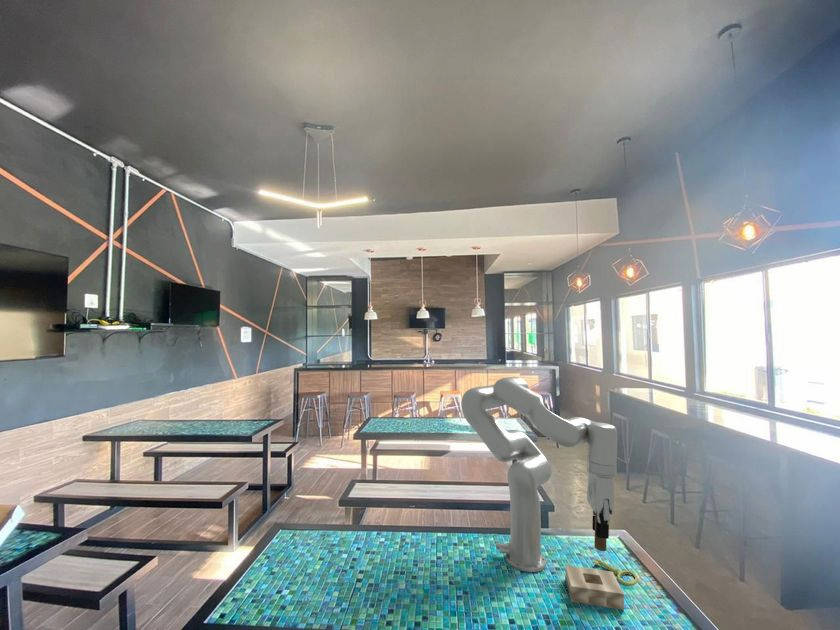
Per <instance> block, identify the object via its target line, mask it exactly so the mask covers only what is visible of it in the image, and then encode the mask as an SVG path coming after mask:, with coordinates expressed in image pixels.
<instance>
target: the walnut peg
mask: <svg viewBox="0 0 840 630" xmlns="http://www.w3.org/2000/svg"><path fill="white" fill-rule="evenodd" d="M601 511H603V510H601ZM594 516H595V531H594V544H593V546H594V549H596V550H597V551H599V552H605V551H607V539H605V538H599V537H597V536H596V522H597V513H595V515H594ZM601 516H603V514H600V517H601Z"/></svg>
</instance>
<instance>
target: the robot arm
mask: <svg viewBox="0 0 840 630" xmlns="http://www.w3.org/2000/svg"><path fill="white" fill-rule="evenodd" d="M460 403H461V404H460V406H461V411H462V414H463V417H464V419H465V420H466V422H467V423H468V424H469V426H470V427H471V428H472V429H473V431H475V432H476V433H477V435H478V437H479V438H480V440H482V442H483V443H484V445H485V446H486V447H487V448H488V450H489V451H490V452H491V454H492V455H493V456H494V458H495V459H496V460H497V461H499V462H501V463H508V462H511V461H513V460H516V461H514V462H513V463H512V464H511V465H509V468H508V471H507V474H506V476H507V484H508V489H509V505H510V507H509V509H510V513H509V516H510V517H509V519H510V521H509V522H510V526H509V527H510V532H509V534H510V537H509V541H508V542H506V543H502V542H496V550H499V553H500V554H505V560H506V562H507V563H508V564H509V566H510V567H512V568H513V569H516V570H519V571H521V572H527V573H537V572H541V571H542V570H544V569H546V566H547V559H546V557H545V556H544V555H543V553H542V533H541V532H542V526H541V525H542V521H541V499H540V496H539V493H538V487H541V486H542V485H544V484H546V483H547V482H548V481H549V480H550V478H551V476H552V472H553V471H552V470H553V469H552V467H551V464H550V462H549V460H548V459H547V458H546V456H545V455H544V454H543V452H541V450H540V449H539V448H538V447H537V445H536V444H535V443H534V442H533V441H532V440H531V438H529V436H528V435H526V433H524V432H522V431H520V430H518V429H510V430H506V429H505V428H504V427H503V426H502V424H500V422H499V420H497V418H495V417H494V416H493V415H492V414H490V413H489V412H487V411H486V410H491V409H495V408H496V409H497V408H499V407H500V408H501V407H503V406H507V407H509V408H511V409H513V410H514V411H515V412H518V413H519V414H521V415H523V416H524V417H525V418H527V420H529V422H530V423H531V424H532V426H533V427H534V428H535V429H536V430H537V431H538V432H539V433H541V434H542V435H543V436H544V437H547V438H548V440H549V439H550V440H551V441H553V442H554V443H556V444H558V445H560V446H561V447H565V448H574V447H576V446H579V445H581V444H587V464H586V465H587V466H586V467H587V468H586V469H587V473H588V478H587V491H586V500H587V502H588V504H589V506H590V508H591V509H592V523H591V524H592V527H591V528H592V531H594V532H595V513H597V522H596V536H597V537H599V538H605V539H606V540H608V539H610V535H609V534H610V522H611V516H612V515H613V514H614V511H615V496H614V495H615V484H614V478H616V477H617V472H618V471H617V470H618V469H617V468H618V463H617V461H618V460H617V459H618V430H617V427H616V426H614V425H612V424H610V423H605V422H599V421H598V422H596V421H593V420H591V419H588V418H586V417H585V418H584V417H581V416H575V417H571V418H567V419H564V418H562V417H560V416H559V415H557V414H555V413H553V411H550V410H549V409H548V408H547V407H546V405H544V398H543V396H541V394H539V393H537V392H535V391H533V390H531V389H529V385H528V383H527V381H525V379H523V378H521V377H518V376H513V377H503V378H502V377H501V378H499V379H498V380H496V382H495V383H494V384H491V385H484V386H475V387H471V388H469V389H467V390H466V391H465V392H464V393H463V395H462V398H461V402H460ZM601 510H603V511H601ZM600 514H603V516H601V517H600Z"/></svg>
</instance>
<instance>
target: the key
mask: <svg viewBox="0 0 840 630" xmlns="http://www.w3.org/2000/svg"><path fill="white" fill-rule="evenodd" d="M592 563H593V564H595V565H596V566H597V565H599V566H601V567H604V569H607V571H610V572H613V573H614V575H615V576H616V580H617V582H618V583H619V584H622V585H623V586H635V585H636V584H637V583H638V582H639V578H638V575H637V574H636V573H634V572H633V571H631V570H625V569H624V570H621V571H619V568H614V567H613V566H611V565H609V564H608V563H606V562H604V561H603V560H601V559H600V558H595V560H593V561H592ZM625 574H632V575H633V576H634V577H635V579H634V577H633V576H632V577H633V580H632V581H625V580H623V579H622V576H626V575H625ZM634 584H635V585H634Z"/></svg>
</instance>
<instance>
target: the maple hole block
mask: <svg viewBox="0 0 840 630" xmlns="http://www.w3.org/2000/svg"><path fill="white" fill-rule="evenodd" d="M564 568H565V570H564V572H565V577H564V578H565V582H566V586H567V590H568V593H569V594H568V595H569V598H570V600H571V602H572V603H576V604H583V605H590V606H595V607H601V608H602V607H603V608H608V609H615V610H621V611H624V610H625V594H624V591H623V590H622V588H621V586H620V583H619V582H618V580H617V577H616V575H615V574H614V573H613V572H612V571H610V570H603V569H602V570H601V569H596V568H589V567H587V568H586V567H580V566H572V565H567V564H566V565H564Z"/></svg>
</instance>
